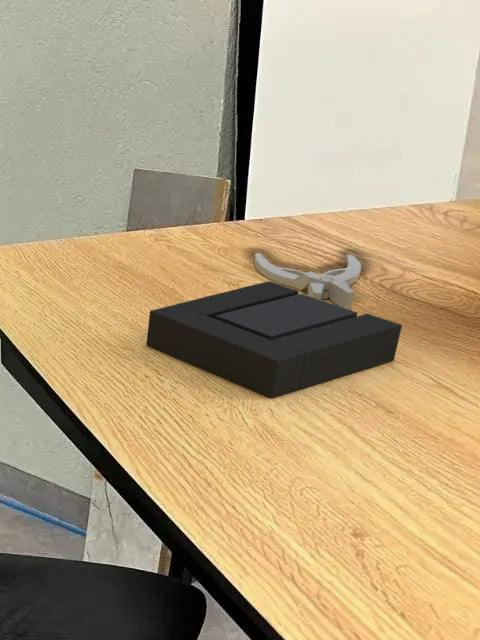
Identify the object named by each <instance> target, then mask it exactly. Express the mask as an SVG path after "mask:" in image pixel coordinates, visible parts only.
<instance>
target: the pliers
mask: <svg viewBox="0 0 480 640" xmlns="http://www.w3.org/2000/svg"><path fill="white" fill-rule="evenodd" d="M346 263H347V264H346ZM345 264H346V267H343V268H334V269H331V270H328V271H325V272H324V273H322V274H321V273H315V272H314V271H312V270H311V271H307V272H306V271H305V272H304V271H302V270H298V269H293V268H287V267H280V266H277V265H274V264H273V263H271V262H269V260H267V259H266V258H265V256H263V254H261V253H255V256H254V267H255V269H256V270H257V271H258V272H259V273H260V274H261V275H262V276H264V277H266V278H267V279H269V280H271V281H272V282H274V283H277V284H279V285H283V286H286V287H290V288H293V289H295V290H298V291H304V290H306V289H308V290H307V294H306V296H309V297H312V298H315V299H318V300H321V301H322V300H329V301H330V300H331V301H330V302H332V303H333V302H334V303H333V304H334V305H336V306H339V307H342V308H345V309H348V310H351V309H352V306H353V300H354V295H355V291H354V290H353V288H351V287H350V286H352V285H354V284H355V283H356V282H357V281H358V280H359V279H358V278H360V276H361V271H362V264H361V262H360V260H359V259H357V257H356V256H354V255H353V254H346V257H345ZM354 282H355V283H354ZM353 283H354V284H353ZM351 284H352V285H351ZM349 285H350V286H349ZM328 298H330V299H328ZM351 311H352V310H351Z"/></svg>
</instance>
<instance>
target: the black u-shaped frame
mask: <svg viewBox="0 0 480 640" xmlns="http://www.w3.org/2000/svg"><path fill="white" fill-rule="evenodd" d="M298 294H299V289H295V288H292V287H289V286H286V285H283V284H280V283H277V282H274V281H270V280H268V281H264V282H260V283H255V284H252V285H248V286H244V287H238V288H236V289H232V290H228V291H224V292H223V291H222V292H220V293H219V292H218V293H216V294H212V295H208V296H207V295H206V296H203V297H199V298H196V299H191V300H186V301H184V302H179V303H176V304H171V305H168V306H164V307H160V308H156V309H152V310H149V316H148V327H147V335H146V346H148V347H150V348H153V349H155V350H157V351H160V352H162V353H165V354H167V355H170V356H172V357H174V358H176V359H179V360H181V361H183V362H185V363H188V364H191V365H192V366H195V367H197V368H200V369H202V370H205V371H207V372H209V373H212V374H214V375H216V376H218V377H221V378H224V379H226V380H228V381H230V382H233V383H235V384H237V385H240V386H243V387H245V388H246V389H249V390H252V391H254V392H257V393H259V394H261V395H263V396H266V397H268V398H271V399H273V398H277V397H279V396H283V395H287V394H289V393H292V392H296V391H299V390H303V389H305V388H309V387H312V386H316V385H319V384H322V383H325V382H329V381H331V380H335V379H339V378H341V377H344V376H348V375H351V374H354V373H358V372H361V371H364V370H367V369H371V368H374V367H377V366H380V365H384V364H386V363H390V362H393V361H395V358H396V353H397V348H398V344H399V341H400V336H401V331H402V327H403V325H402V324H401V323H398V322H396V321H395V322H394V321H392V320H388V319H385V318H382V317H379V316H376V315H373V314H370V313H365V314H360V315H357V317H353V318H350V319H346V320H343V321H339V322H336V323H332V324H328V325H325V326H321V327H318V328H314V329H310V330H307V331H303V332H300V333H296V334H293V335H289V336H285V337H282V338H278V339H275V340H269V339H267V338H264V337H261V336H259V335H256V334H254V333H251V332H248V331H246V330H243V329H240V328H238V327H235V326H232V325H230V324H227V323H224V322H222V321H219V320H216V319H215V317H216V315H220V314H224V313H227V312H231V311H235V310H239V309H243V308H247V307H251V306H255V305H259V304H263V303H267V302H271V301H275V300H279V299H282V298H286V297H290V296H294V295H298Z"/></svg>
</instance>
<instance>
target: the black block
mask: <svg viewBox="0 0 480 640" xmlns="http://www.w3.org/2000/svg"><path fill="white" fill-rule="evenodd" d="M357 316H358V312H357V311H353V310H348V309H345V308H342V307H339V306H338V305H336V304H334V303H330V302H327V301H323V300H322V299H321V300H318V299H315V298H312V297H309V296H307V294H303V293H298V295H294V296H290V297H286V298H282V299H279V300H275V301H271V302H267V303H263V304H259V305H255V306H251V307H247V308H243V309H239V310H235V311H231V312H227V313H224V314H220V315H216V317H215V319H216V320H219V321H222V322H224V323H227V324H230V325H232V326H235V327H238V328H240V329H243V330H246V331H248V332H251V333H254V334H256V335H259V336H261V337H264V338H267V339H269V340H275V339H278V338H282V337H285V336H289V335H293V334H296V333H300V332H303V331H307V330H310V329H314V328H318V327H321V326H325V325H328V324H332V323H336V322H339V321H343V320H346V319H350V318H353V317H357Z"/></svg>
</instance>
